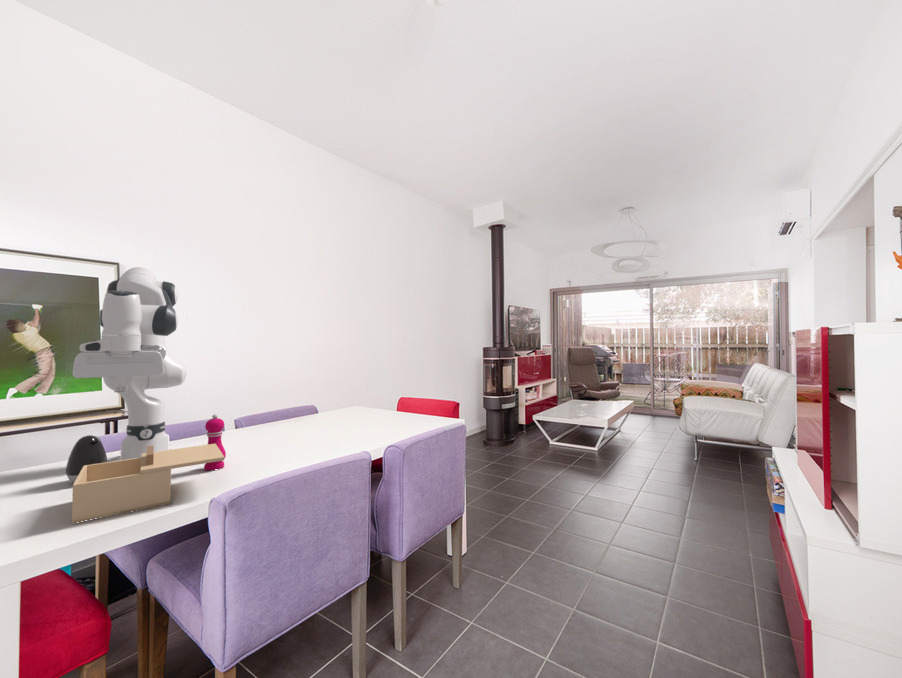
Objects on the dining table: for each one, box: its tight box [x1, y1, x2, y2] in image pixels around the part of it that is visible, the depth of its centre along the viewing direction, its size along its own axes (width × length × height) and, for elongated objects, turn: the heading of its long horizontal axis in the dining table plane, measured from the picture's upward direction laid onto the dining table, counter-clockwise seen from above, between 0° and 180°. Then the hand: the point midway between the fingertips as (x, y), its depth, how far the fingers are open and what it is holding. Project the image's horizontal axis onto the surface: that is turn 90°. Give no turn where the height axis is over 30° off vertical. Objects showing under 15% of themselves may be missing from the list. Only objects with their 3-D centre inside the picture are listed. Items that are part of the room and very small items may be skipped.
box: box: [71, 457, 172, 524], centre depth 109 cm, size 20×20×10 cm
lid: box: [140, 444, 225, 474], centre depth 117 cm, size 20×20×4 cm
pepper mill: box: [203, 413, 227, 471], centre depth 139 cm, size 7×7×20 cm
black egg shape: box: [65, 434, 109, 484], centre depth 125 cm, size 10×10×15 cm
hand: (120, 391), depth 110 cm, fingers closed
